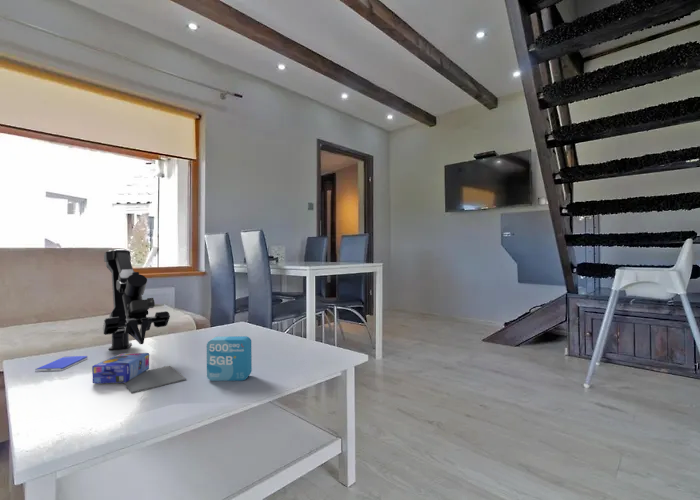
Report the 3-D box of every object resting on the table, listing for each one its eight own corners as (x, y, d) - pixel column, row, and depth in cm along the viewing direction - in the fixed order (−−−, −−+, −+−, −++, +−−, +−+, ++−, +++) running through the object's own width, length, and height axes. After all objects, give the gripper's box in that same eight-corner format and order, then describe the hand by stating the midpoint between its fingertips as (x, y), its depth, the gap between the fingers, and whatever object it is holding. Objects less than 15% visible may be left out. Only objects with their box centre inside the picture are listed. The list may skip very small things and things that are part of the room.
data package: (206, 381, 102) (206, 340, 102) (212, 375, 107) (212, 336, 107) (247, 380, 102) (247, 339, 102) (251, 375, 107) (251, 336, 107)
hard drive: (63, 356, 124) (34, 368, 112) (87, 355, 125) (62, 367, 113) (63, 360, 124) (35, 373, 112) (87, 360, 125) (62, 372, 113)
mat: (119, 377, 106) (119, 376, 106) (169, 366, 115) (169, 365, 115) (131, 393, 94) (131, 391, 94) (186, 379, 103) (186, 378, 103)
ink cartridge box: (149, 351, 112) (120, 367, 98) (150, 368, 112) (121, 387, 98) (118, 352, 112) (84, 368, 98) (119, 369, 112) (85, 388, 98)
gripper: (104, 293, 111) (110, 334, 103) (168, 288, 124) (178, 324, 116) (100, 314, 117) (106, 354, 109) (161, 307, 129) (171, 343, 121)
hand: (142, 343), depth 113 cm, fingers closed
